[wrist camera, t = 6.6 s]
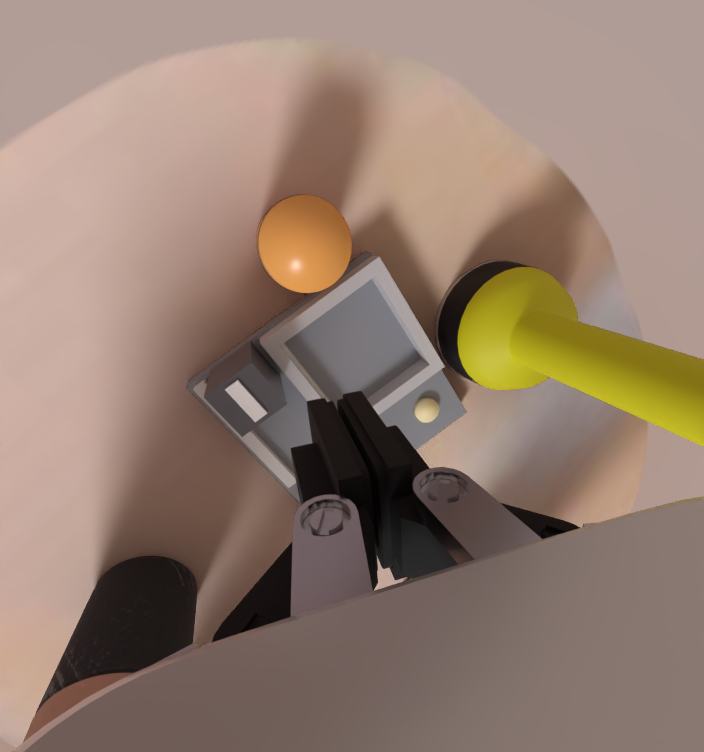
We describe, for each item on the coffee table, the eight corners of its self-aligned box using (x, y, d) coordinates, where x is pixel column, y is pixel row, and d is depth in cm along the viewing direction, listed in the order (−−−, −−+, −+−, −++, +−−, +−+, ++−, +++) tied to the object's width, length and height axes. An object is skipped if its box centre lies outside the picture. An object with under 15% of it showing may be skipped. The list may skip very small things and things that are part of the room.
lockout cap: (343, 252, 25) (369, 258, 20) (285, 294, 25) (296, 312, 20) (300, 186, 23) (317, 172, 18) (239, 232, 23) (236, 232, 18)
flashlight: (1152, 718, 5) (1075, 847, 9) (1793, 235, 5) (1429, 582, 8) (411, 320, 28) (475, 401, 32) (508, 232, 27) (562, 324, 31)
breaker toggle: (280, 376, 26) (287, 405, 21) (242, 404, 26) (241, 438, 21) (250, 340, 24) (251, 363, 20) (210, 369, 24) (203, 398, 20)
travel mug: (141, 646, 32) (-3, 1217, 13) (63, 594, 28) (-263, 1247, 10) (222, 591, 32) (189, 1082, 13) (154, 534, 29) (-9, 1070, 10)
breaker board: (459, 405, 31) (476, 420, 29) (315, 511, 31) (320, 534, 29) (365, 251, 26) (377, 253, 23) (188, 380, 26) (182, 396, 23)
